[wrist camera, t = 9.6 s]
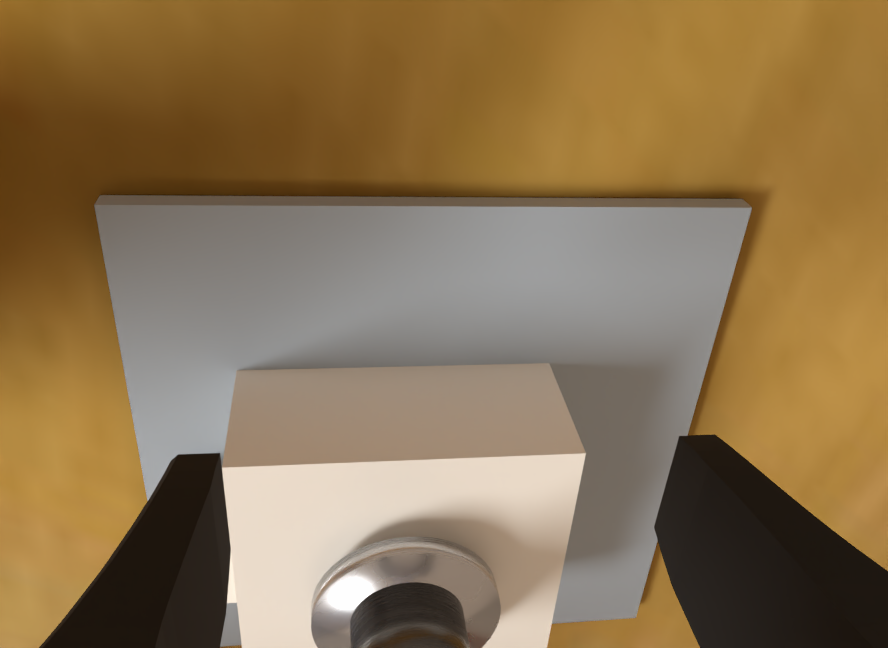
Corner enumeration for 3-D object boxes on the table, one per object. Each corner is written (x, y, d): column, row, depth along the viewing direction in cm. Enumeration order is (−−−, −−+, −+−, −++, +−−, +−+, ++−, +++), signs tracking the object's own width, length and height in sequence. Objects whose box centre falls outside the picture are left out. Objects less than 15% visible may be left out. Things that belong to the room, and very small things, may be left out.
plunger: (465, 539, 27) (511, 770, 21) (314, 547, 27) (312, 789, 20) (478, 423, 25) (534, 645, 18) (310, 428, 24) (306, 662, 17)
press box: (516, 571, 29) (542, 672, 25) (207, 589, 27) (191, 699, 24) (548, 362, 24) (585, 453, 21) (177, 371, 23) (152, 470, 19)
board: (630, 604, 32) (635, 617, 31) (176, 635, 29) (174, 649, 29) (742, 198, 23) (752, 207, 22) (99, 195, 20) (94, 205, 20)
